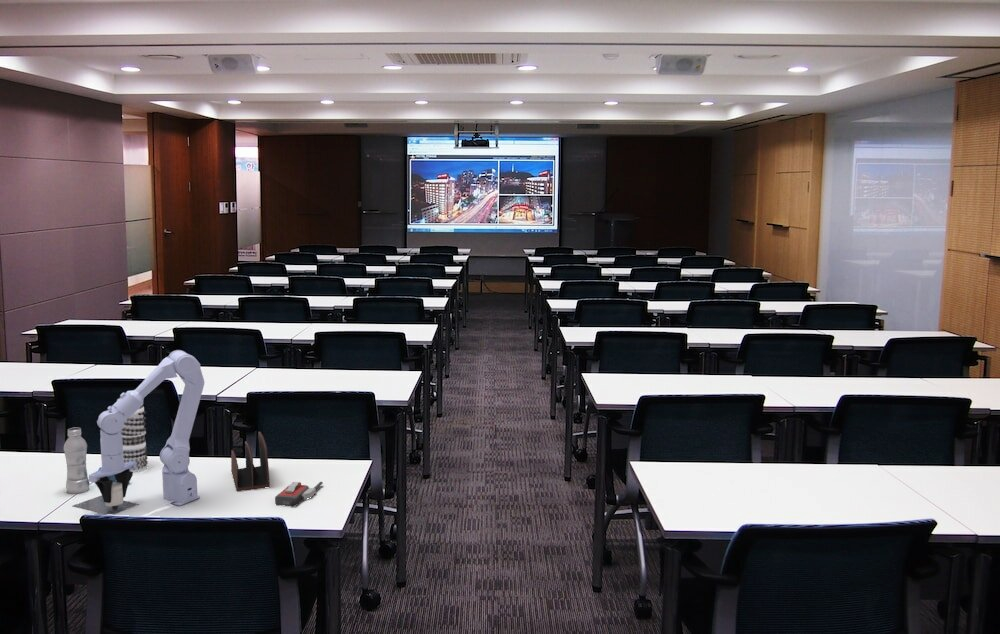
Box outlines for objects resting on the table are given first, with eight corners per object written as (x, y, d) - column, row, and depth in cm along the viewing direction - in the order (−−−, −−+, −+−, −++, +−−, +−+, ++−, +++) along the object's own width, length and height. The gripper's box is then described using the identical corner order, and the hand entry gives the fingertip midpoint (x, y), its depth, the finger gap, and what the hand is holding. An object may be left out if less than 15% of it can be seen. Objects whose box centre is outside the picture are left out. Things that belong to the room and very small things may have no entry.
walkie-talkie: (300, 509, 254) (325, 487, 274) (300, 494, 254) (324, 473, 273) (272, 507, 256) (298, 485, 275) (271, 493, 255) (297, 471, 275)
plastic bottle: (64, 498, 262) (60, 432, 259) (68, 490, 268) (64, 427, 265) (88, 496, 263) (84, 431, 261) (91, 489, 270) (87, 425, 267)
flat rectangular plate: (139, 507, 254) (138, 492, 254) (110, 518, 245) (109, 503, 245) (101, 498, 261) (100, 484, 261) (71, 509, 252) (70, 494, 252)
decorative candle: (141, 462, 296) (137, 389, 293) (154, 468, 290) (150, 394, 287) (114, 468, 290) (110, 394, 286) (126, 474, 284) (122, 398, 280)
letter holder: (262, 469, 290) (261, 428, 288) (269, 488, 272) (268, 444, 270) (231, 473, 287) (229, 430, 285) (236, 492, 268) (234, 447, 266)
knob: (126, 501, 252) (125, 482, 251) (113, 506, 248) (112, 487, 247) (115, 499, 254) (114, 480, 253) (102, 504, 250) (101, 485, 249)
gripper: (123, 444, 257) (125, 489, 259) (80, 458, 245) (83, 504, 246) (140, 448, 254) (143, 493, 256) (97, 461, 241) (100, 509, 243)
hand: (114, 499), depth 251 cm, fingers closed on knob, 4 cm apart
